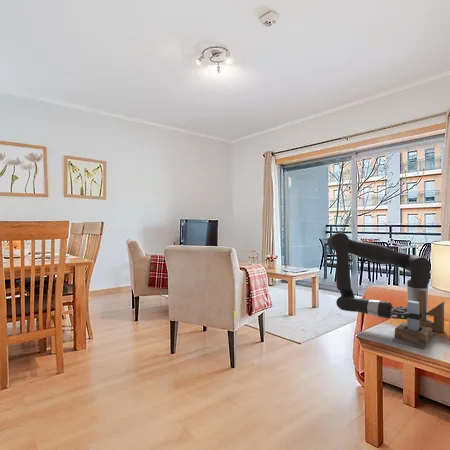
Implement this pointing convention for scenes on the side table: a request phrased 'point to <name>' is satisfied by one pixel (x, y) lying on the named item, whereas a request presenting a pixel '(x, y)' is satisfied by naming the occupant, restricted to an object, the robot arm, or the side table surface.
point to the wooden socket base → (413, 336)
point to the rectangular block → (414, 309)
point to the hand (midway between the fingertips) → (420, 316)
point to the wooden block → (431, 313)
